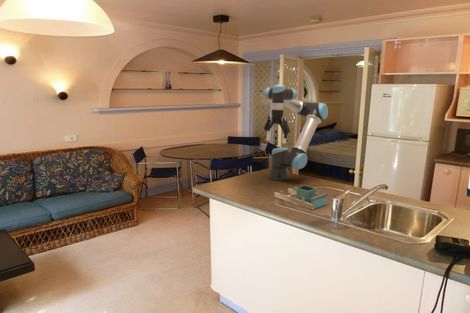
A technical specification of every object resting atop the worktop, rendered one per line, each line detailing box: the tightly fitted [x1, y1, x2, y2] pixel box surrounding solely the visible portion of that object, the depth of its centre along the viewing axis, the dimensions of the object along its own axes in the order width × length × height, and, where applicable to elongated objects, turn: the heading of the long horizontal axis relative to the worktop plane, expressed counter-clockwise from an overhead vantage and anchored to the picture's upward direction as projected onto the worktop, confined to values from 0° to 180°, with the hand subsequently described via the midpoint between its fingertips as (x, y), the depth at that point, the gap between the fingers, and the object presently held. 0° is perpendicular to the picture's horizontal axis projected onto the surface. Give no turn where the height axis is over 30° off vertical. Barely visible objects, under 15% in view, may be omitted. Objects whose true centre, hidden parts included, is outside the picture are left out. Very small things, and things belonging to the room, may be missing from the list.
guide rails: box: [273, 186, 328, 210], centre depth 203 cm, size 15×28×5 cm, turn 43°
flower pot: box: [296, 184, 317, 203], centre depth 200 cm, size 9×9×9 cm
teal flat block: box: [310, 192, 329, 210], centre depth 193 cm, size 15×2×6 cm, turn 133°
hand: (275, 141), depth 221 cm, fingers open, 13 cm apart
